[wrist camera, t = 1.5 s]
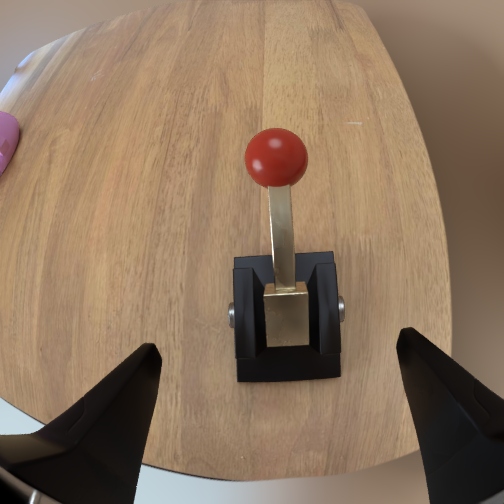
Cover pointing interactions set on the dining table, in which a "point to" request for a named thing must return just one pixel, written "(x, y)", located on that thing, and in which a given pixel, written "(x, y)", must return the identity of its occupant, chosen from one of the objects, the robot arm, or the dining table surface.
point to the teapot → (7, 138)
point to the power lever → (281, 233)
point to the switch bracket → (253, 323)
